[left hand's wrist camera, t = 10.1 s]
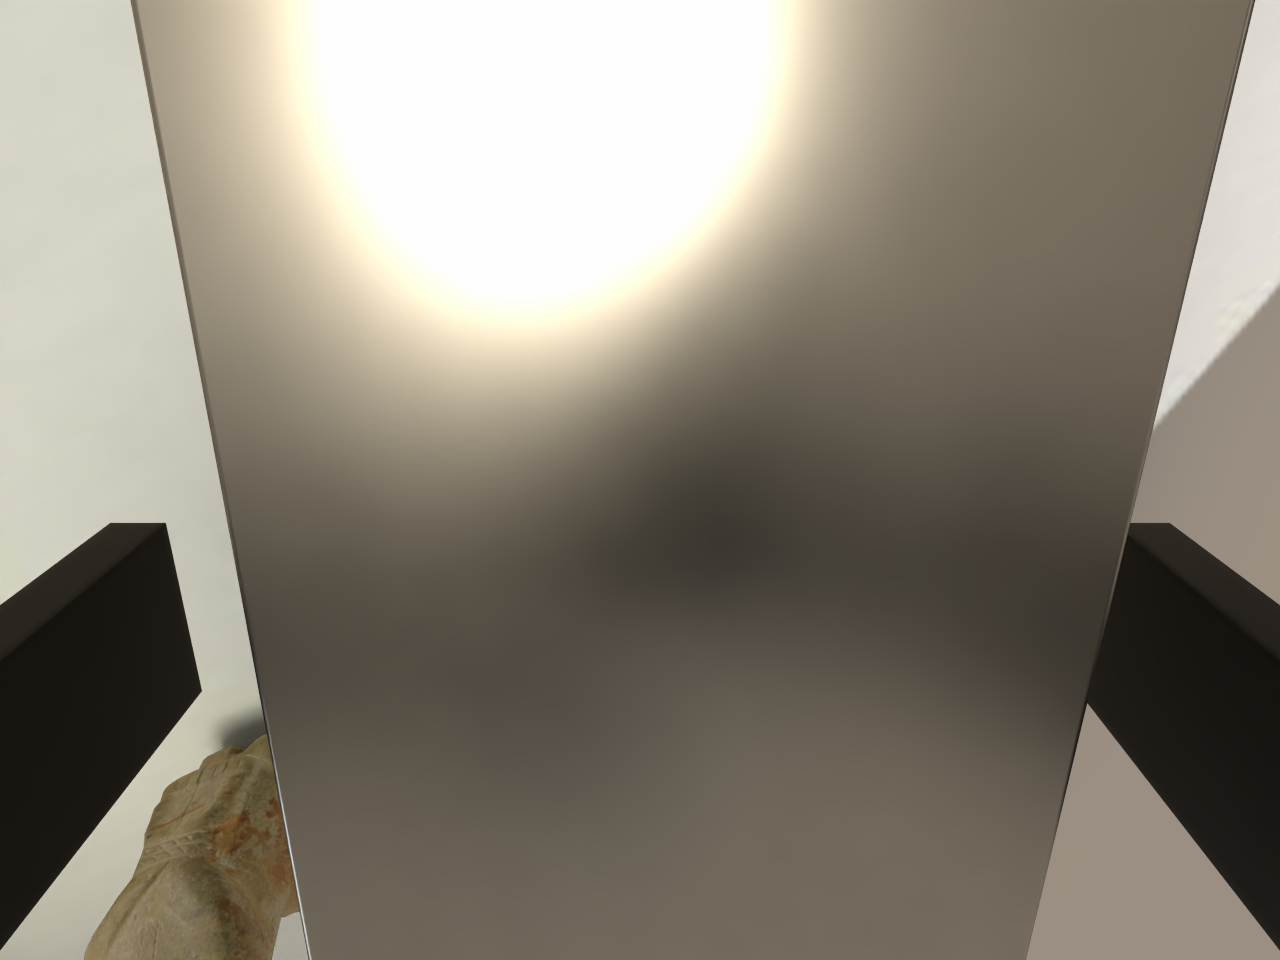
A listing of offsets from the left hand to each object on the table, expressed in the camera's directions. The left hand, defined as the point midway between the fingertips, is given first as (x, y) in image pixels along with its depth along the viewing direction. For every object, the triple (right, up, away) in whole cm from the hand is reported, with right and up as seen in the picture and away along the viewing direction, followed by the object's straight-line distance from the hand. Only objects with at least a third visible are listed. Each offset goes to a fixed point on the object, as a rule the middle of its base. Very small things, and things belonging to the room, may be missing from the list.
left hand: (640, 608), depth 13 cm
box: (0, +9, 0) cm, 9 cm away
